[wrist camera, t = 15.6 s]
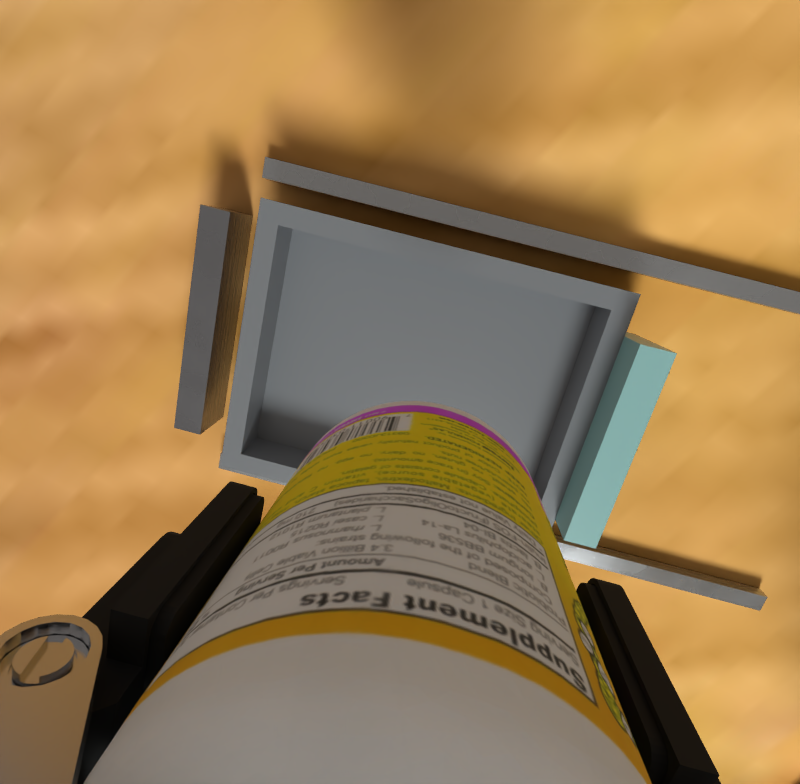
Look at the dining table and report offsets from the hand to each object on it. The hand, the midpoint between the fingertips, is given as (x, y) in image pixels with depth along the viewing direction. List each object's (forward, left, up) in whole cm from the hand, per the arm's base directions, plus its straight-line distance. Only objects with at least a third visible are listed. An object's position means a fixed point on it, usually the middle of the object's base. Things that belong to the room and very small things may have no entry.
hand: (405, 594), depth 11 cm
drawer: (+1, 0, -19) cm, 19 cm away
